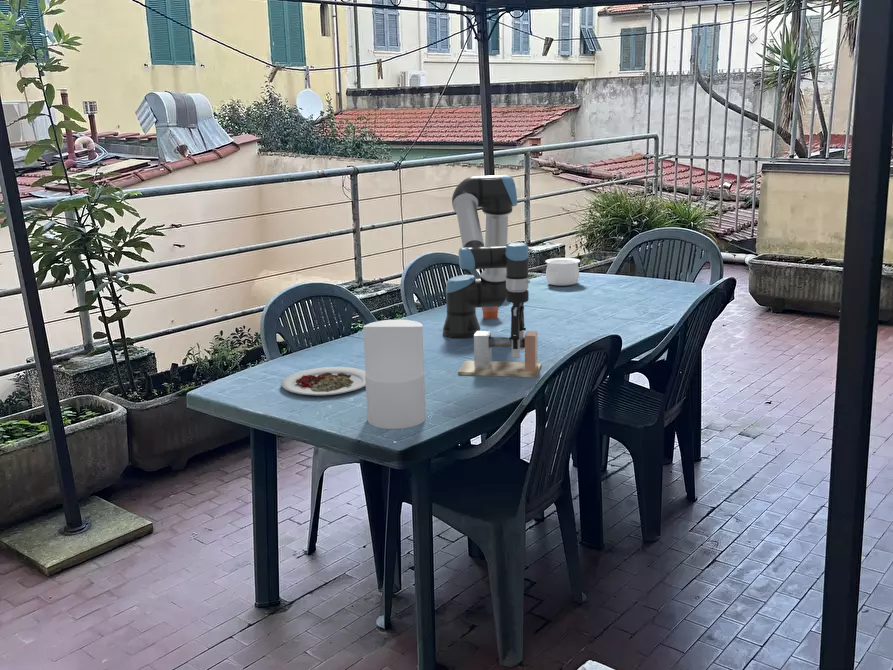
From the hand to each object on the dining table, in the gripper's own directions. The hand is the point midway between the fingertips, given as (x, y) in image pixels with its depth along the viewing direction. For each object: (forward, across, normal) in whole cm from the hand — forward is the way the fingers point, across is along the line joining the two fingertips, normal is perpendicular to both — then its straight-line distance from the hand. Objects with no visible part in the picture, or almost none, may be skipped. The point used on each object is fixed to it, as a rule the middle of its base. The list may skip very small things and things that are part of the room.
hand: (517, 353), depth 298 cm
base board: (+6, 0, +6) cm, 9 cm away
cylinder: (+6, -52, +29) cm, 60 cm away
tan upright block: (+6, 0, -5) cm, 8 cm away
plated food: (+7, -23, +61) cm, 66 cm away
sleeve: (+6, 0, +12) cm, 14 cm away
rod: (-2, 0, +4) cm, 4 cm away
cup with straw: (+6, +77, +22) cm, 80 cm away
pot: (+6, +151, -3) cm, 151 cm away
